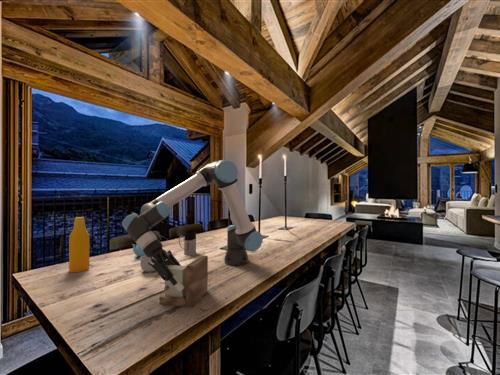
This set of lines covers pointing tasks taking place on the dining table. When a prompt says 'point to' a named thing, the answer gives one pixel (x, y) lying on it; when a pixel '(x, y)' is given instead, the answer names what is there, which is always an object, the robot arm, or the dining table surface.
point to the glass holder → (189, 243)
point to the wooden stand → (192, 284)
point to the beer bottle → (79, 247)
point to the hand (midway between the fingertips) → (185, 287)
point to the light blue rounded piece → (138, 250)
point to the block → (181, 275)
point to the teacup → (146, 264)
